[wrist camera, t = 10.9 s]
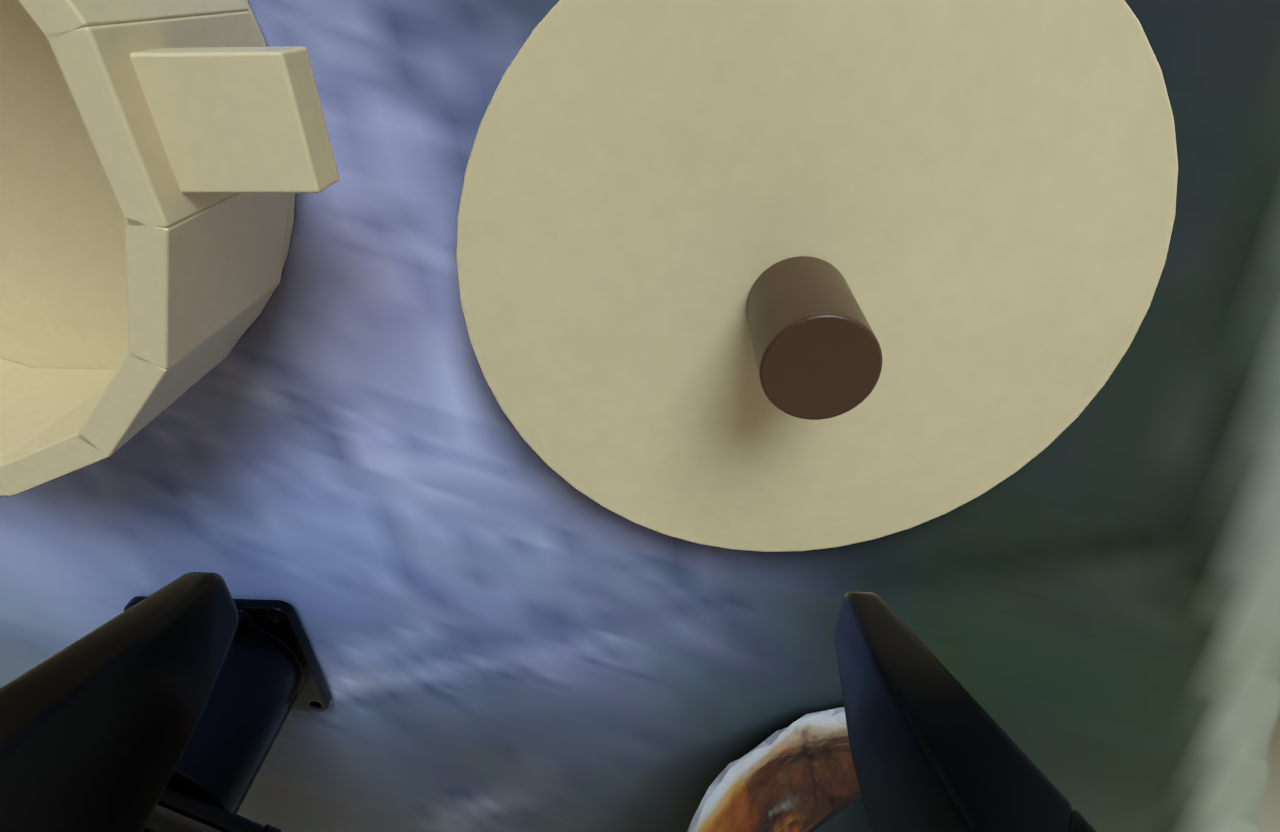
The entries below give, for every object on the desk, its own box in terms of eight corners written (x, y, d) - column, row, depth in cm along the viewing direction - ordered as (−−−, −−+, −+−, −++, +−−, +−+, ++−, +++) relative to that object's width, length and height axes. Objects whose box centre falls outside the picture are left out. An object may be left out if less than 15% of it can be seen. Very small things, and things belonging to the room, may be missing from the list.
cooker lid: (1027, 535, 23) (1098, 649, 19) (508, 523, 24) (475, 631, 20) (1298, -137, 13) (1551, -181, 9) (406, -117, 14) (303, -150, 10)
